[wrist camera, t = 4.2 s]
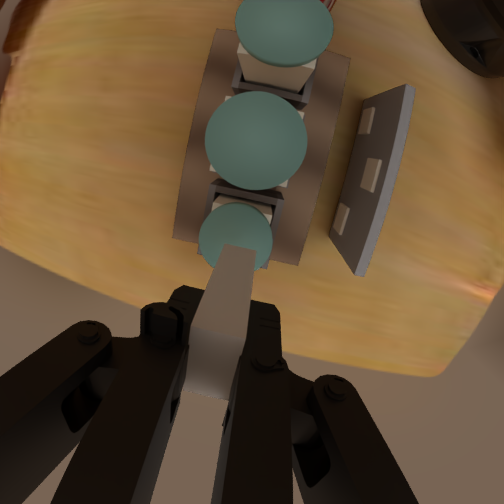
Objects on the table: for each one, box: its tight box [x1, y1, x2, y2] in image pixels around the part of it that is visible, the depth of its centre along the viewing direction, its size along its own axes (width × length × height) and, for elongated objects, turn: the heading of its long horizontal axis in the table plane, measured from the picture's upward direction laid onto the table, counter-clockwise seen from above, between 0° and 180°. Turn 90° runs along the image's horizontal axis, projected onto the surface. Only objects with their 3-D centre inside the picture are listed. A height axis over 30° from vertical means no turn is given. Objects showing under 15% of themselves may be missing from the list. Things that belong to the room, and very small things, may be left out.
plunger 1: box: [199, 193, 273, 271], centre depth 23 cm, size 5×5×9 cm
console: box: [172, 29, 350, 269], centre depth 23 cm, size 20×12×6 cm, turn 167°
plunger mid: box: [205, 91, 307, 190], centre depth 17 cm, size 5×5×9 cm
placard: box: [329, 84, 416, 277], centre depth 22 cm, size 14×1×9 cm, turn 168°
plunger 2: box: [235, 0, 334, 94], centre depth 15 cm, size 5×5×9 cm
